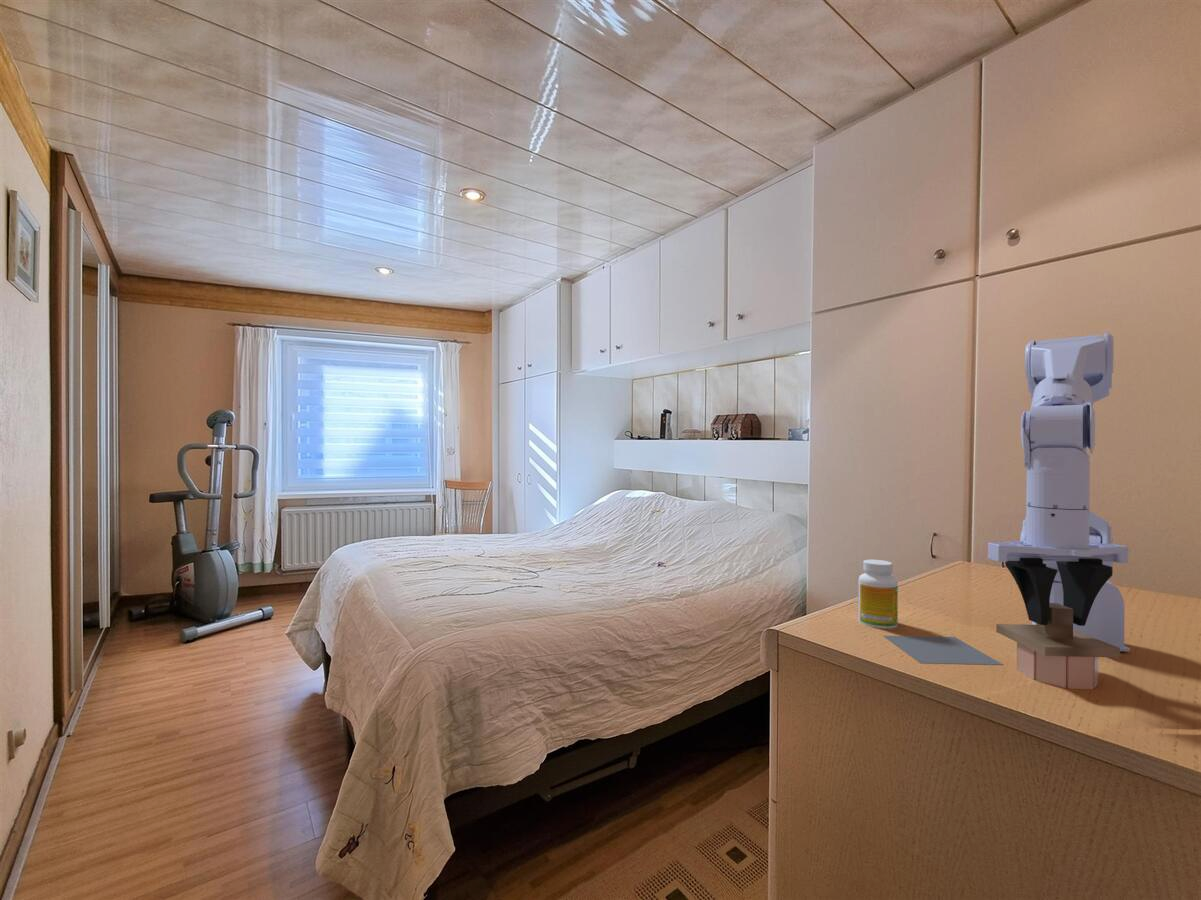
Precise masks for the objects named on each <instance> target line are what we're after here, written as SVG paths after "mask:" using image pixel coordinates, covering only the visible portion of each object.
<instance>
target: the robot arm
mask: <svg viewBox="0 0 1201 900" xmlns="http://www.w3.org/2000/svg"><path fill="white" fill-rule="evenodd" d="M1024 351H1025V352H1024V366H1025V367H1024V370H1025V371H1024V372H1025V378H1026V381H1027V389H1028V390H1027V391H1028V393H1029V394H1030V399H1031V404H1030V410H1028V411H1026V410H1024V411H1023V412H1022V415H1021V421H1020V438H1021V439H1020V440H1021V446H1022V449H1023V465H1024V468H1026V481H1025V482H1026V483H1025V484H1026V489H1025V490H1026V496H1025V497H1026V500H1025V501H1026V502H1025V504H1026V507H1025V508H1026V509H1025V514H1026V515H1025V518H1024V520H1023V521H1022V530H1021V531H1020V539H1019V540H1018V541H1005V542H1004V541H1003V542H987V559H989V560H992V561H996V562H1000V563H1005V567H1006V568H1007V570H1008V571H1009V573H1010V575H1012V577H1013V579H1014V581H1015V583H1016V586H1017V587H1018V589H1019V592H1020V595H1021V598H1022V599H1023V600H1022V601H1023V604H1024V606H1025V610H1026V614H1027V618H1028V620H1029V621H1030V622H1031V623H1032V624H1031V625H1036V623H1037V624H1040V625H1047V624H1048V620H1049V604H1050V603H1058V604H1061V605H1063V606H1066V607H1069V608H1072V609H1073V630H1076V631H1078V632H1081V633H1083V634H1086V635H1088V636H1091V637H1093V638H1095V639H1098V640H1100V641H1103V642H1105V643H1108V644H1110V645H1113V646H1115V647H1118V648H1120V652H1130V651H1131V648H1130V647H1128V646H1126V645H1125V608H1126V607H1125V606H1126V605H1125V601H1124V597H1123V595H1122V593H1121V590H1119V588H1118V587H1117V586H1116V585H1115V584H1113V583H1112V582H1110V581H1109V579H1111V578H1113V573H1114V572H1113V563H1117V564H1129V546H1128V545H1127V546H1126V545H1120V544H1115V543H1113V538H1112V526H1110V524H1109V522H1108V521H1107V520H1106V519H1104V518H1103V517H1101V516H1099V515H1097V514H1096V513H1094V512H1092V511H1091V510H1090V486H1091V484H1090V482H1091V481H1090V478H1091V477H1090V474H1091V469H1090V467H1091V465H1090V463H1091V461H1090V460H1091V459H1090V457H1091V456H1090V455H1089V454H1088V453H1087V451H1088V449H1089V453H1090V454H1093V451H1094V449H1095V445H1096V414H1095V413H1096V412H1095V409H1094V407H1093V405H1094V403H1096V402H1098V401H1101V400H1102V399H1105V398H1107V397H1108V396H1110V390H1111V389H1112V388H1113V374H1114V336H1113V335H1112V334H1110V333H1109V332H1103V334H1094V335H1085V336H1074V337H1064V338H1053V339H1046V340H1045V339H1044V340H1037V341H1036V340H1030V341H1029V342H1028V343H1027V344H1026V345H1025V350H1024Z"/></svg>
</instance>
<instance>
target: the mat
mask: <svg viewBox="0 0 1201 900" xmlns="http://www.w3.org/2000/svg"><path fill="white" fill-rule="evenodd" d="M883 638H884V639H886V640H888V642H890V643H892V644H893V645H895V646H896V647H897V648H899V649H900V650H901V651H902V652H904V653H905V654H907V655H908V656H910V657H911V658H913V659H914V660H915V661H917V662H918V663H919V664H928V665H929V664H930V665H931V664H933V665H935V664H937V665H975V666H976V665H981V666H985V665H987V666H1004V664H1003V663H1001V662H999V660H998V661H997V660H996V659H995V658H994V657H991V656H989V655H988V654H986V653H984V652H982V651H981V650H979V649H977V648H975V647H973V646H971V645H970V644H968V643H966V642H964V641H963V640H961V639H959V638H958V637H956V636H930V635H929V636H925V635H924V636H922V635H920V636H919V635H918V636H917V635H883Z"/></svg>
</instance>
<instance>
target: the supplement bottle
mask: <svg viewBox="0 0 1201 900" xmlns="http://www.w3.org/2000/svg"><path fill="white" fill-rule="evenodd" d="M862 568H863V571H864V573H862V574H860V575H859V577H858V583H857V584H858V598H857V599H858V600H857V601H858V603H857V605H858V606H857V608H858V609H857V612H858V613H857V616H858V622H859V623H860V624H861V625H864V626H866V627H870V628H871V627H872V628H877V629H895V628H897V627H898V623H899V622H898V619H899V617H898V613H899V611H898V609H899V608H898V606H899V605H898V603H899V599H898V597H899V596H898V594H899V593H898V592H899V589H898V588H899V587H898V586H899V583H898V580H897V578H896V577H894V576H893V575H892V574H893V563H892V562H890V561H888V560H881V559H864V560H863V567H862Z"/></svg>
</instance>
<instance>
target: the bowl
mask: <svg viewBox="0 0 1201 900" xmlns="http://www.w3.org/2000/svg"><path fill="white" fill-rule="evenodd" d="M1098 660H1099V657H1071V656H1044V655H1042V654H1040V653H1038V652H1036V651H1034V650H1032V649H1030V648H1028V647H1026V646H1024V645H1022V644H1020V643H1018V642H1016V671H1017V672H1019V673H1021V674H1023V675H1025V676H1026V677H1028V678H1030V679H1031V680H1032V681H1033V680H1034V681H1036V682H1039V683H1043V684H1048V685H1052V686H1055V687H1059V688H1064V689H1066V688H1067V689H1068V690H1071V689H1073V690H1095V689H1096V687H1097V684H1098V683H1099V682H1098V681H1099V680H1098V676H1099V674H1098V673H1099V671H1098V670H1099V668H1098V666H1099V663H1098V662H1099V661H1098Z"/></svg>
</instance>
